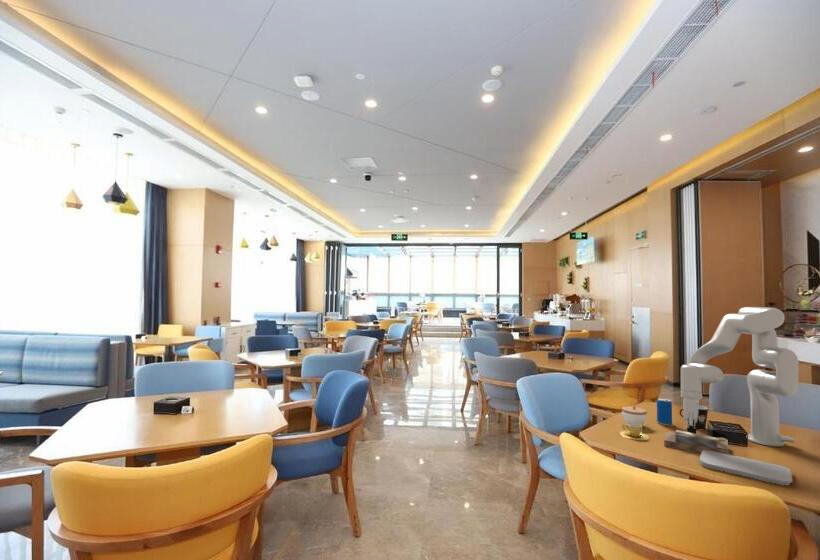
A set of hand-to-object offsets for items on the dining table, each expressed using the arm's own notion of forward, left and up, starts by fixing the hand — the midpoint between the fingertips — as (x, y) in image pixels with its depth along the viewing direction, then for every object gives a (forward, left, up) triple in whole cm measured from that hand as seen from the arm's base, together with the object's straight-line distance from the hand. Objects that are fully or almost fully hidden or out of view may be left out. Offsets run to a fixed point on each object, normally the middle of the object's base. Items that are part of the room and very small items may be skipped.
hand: (691, 436), depth 174 cm
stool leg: (-3, +4, -1) cm, 5 cm away
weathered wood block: (-1, +2, -4) cm, 4 cm away
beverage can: (+12, -27, -4) cm, 30 cm away
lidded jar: (+24, -15, -4) cm, 28 cm away
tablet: (-16, +18, -4) cm, 24 cm away
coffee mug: (0, -30, -4) cm, 31 cm away
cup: (+22, +2, -4) cm, 22 cm away
